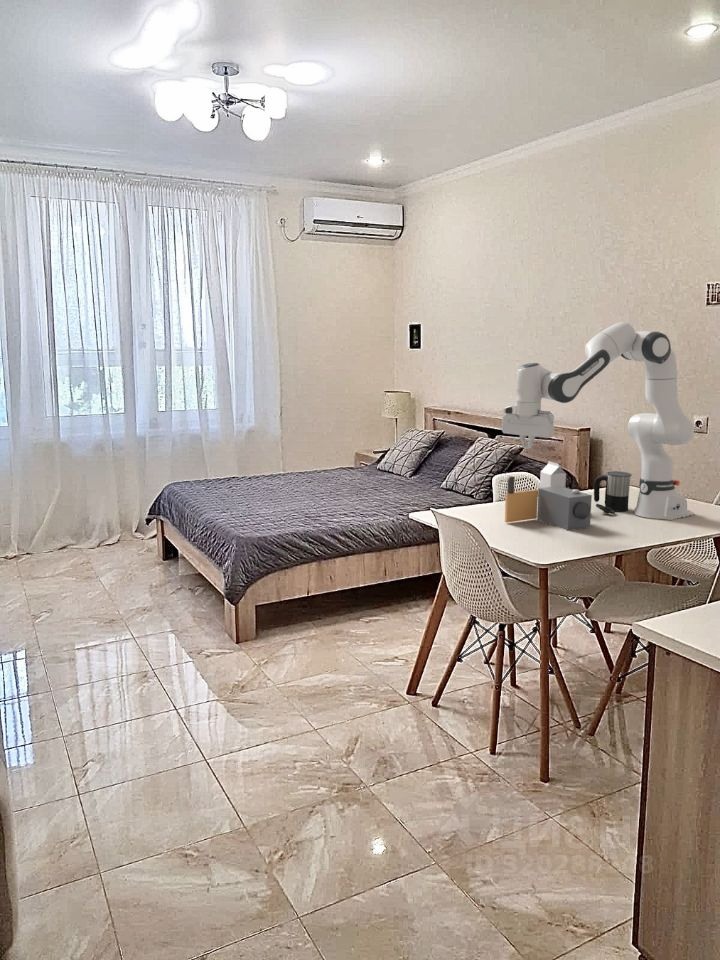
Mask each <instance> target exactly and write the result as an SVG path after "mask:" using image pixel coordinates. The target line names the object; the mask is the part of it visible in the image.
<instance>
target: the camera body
mask: <svg viewBox="0 0 720 960" xmlns="http://www.w3.org/2000/svg"><path fill="white" fill-rule="evenodd" d="M537 490H538V500H537V518H536V519H537V520H538V519H539V520H538V521H541V522H543V521H544V523H546V522H547V523H546V524H549V523H550V524H549V525H552V526H554V525H555V527H557V526H558V527H557V528H559V529H562V528H563V530H565V529H566V530H565V531H573V530H572V529H575V530H581V529H580V528H582V529H589V528H588V527H590V528H591V516H592V497H593V495H592V494H589V493H585V492H582V491H580V489H578V488H577V489H576V488H575V489H574V488H573V489H571V488H569V487H566V486H565V487H562V486H556V487H546V488H540V487H538V489H537Z"/></svg>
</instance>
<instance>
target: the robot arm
mask: <svg viewBox="0 0 720 960" xmlns="http://www.w3.org/2000/svg"><path fill="white" fill-rule="evenodd" d="M584 356H585V357H586V360H585V361H582V363H581V364H579V365H578V366H577V367H576V368H575V369H574V370H571V371H570V372H565V373H560V372H554V371H552V370H549V369H547V368H545V367H544V366H542V364H540V363H538V362H530V363H525V364H522V365H521V366H519V368H517V371H516V379H515V391H516V397H515V404H513V405H509V406H506V407H504V408H503V410H502V411H503V416H502V419H501V431H502V433H503V434H507V435H517V436H519V439H520V442H521V444H522V445H521V448H522V449H528V450H529V449H532V448H533V443H534V441H535V439H536V438H544V439H549V438H552V437H554V436H555V423H554V420H555V416H554V414H553V413H552V412H551V411H549V410H547V411H546V410H542V409H541V408H542V399H547V400H551V401H556V402H558V403H561V404H566V403H570V402H572V401H573V400H574V399H576V398H577V396H579V393H580V391H581V390H582V389H583V387H584V386H585V385H587V384H588V383H589V382H590V381H591V380H592V379H594V378H595V377H596V376H597V375H599V374H600V373H601V372H602V371H603V370H604V369H605V368H606V367H607V366H608V365H610V364H611V363H612V362H613V361H614V360H616V359H617V358H619V357H622V358H623V359H625V360H628V361H635V362H639V363H640V362H644V364H645V377H644V378H645V382H644V383H645V385H644V386H645V387H644V389H645V390H644V397H645V399H646V401H647V402H648V403H649V404H650V405H651V406H652V407H653V408H654V410H655V413H652V412H651V413H650V412H643V413H642V412H641V413H636V414H633V415H632V416H631V417H630V419H629V421H628V422H627V432H628V434H629V436H630V437H631V438H632V439H633V440H634V441H635V443H636V445H637V447H638V449H639V453H640V457H641V473H640V474H641V475H640V478H639V485H638V486H639V491H638V496H637V501H636V505H635V508H634V512H633V514H634V515H636V516H639V517H642V518H647V519H655V520H656V519H657V520H658V519H659V520H667V521H670V520H671V521H672V520H673V519H674V520H677V518H678V519H682V518H681V517H683V518H686V516H687V517H690V516H689V515H691V516H694V515H693V514H694V512H693V511H692V510H690V509H688V500H687V498H686V497H685V496H684V495H682V494H681V493H680V491H678V490H676V487H675V486H680V480H678V479H674V480H673V470H674V469H673V467H674V460H673V457H672V456H671V455H669V454H668V453H667V452H666V451H665V449H664V446H663V445H669V446H682V445H686V444H688V443H689V442H690V441H691V440H692V439H693V437H694V433H695V428H694V424H693V422H692V421H691V420H690V419H689V418H688V416H686V415H685V413H684V412H683V410H682V408H681V406H680V402H679V398H678V364H677V358H676V353H675V351H674V350H673V349H672V348H671V341H670V339H669V337H668V336H667V334H665V333H662V332H660V331H653V330H652V331H651V330H637V331H636V330H635V328H634V327H633V325H631V324H630V323H629V322H626V321H619V322H616V323H614V324H612V325H610V326H607V327H606V328H605V329H603V330H601V331H600V332H599V333H597V334H596V335H594V336H593V337H591V338H590V339H589V341H588V342H587V343H586V344H585V348H584ZM527 437H528V442H527V440H526V439H527ZM674 520H673V521H674Z"/></svg>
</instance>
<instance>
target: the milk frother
mask: <svg viewBox="0 0 720 960" xmlns="http://www.w3.org/2000/svg"><path fill="white" fill-rule="evenodd" d="M631 476H632V473H629V472H627V471H617V470H615V471H614V470H613V471H607V472H606V474H604V475H603V474H602V475H601V474H600V475H599V476H597V477H596V478H595V480H594V481H593V501H594V502H596V504H595V507H596V508H598V509H599V510H601V511H602V512H603V513H606V514H607V515H609V514H612V515H614V514H615V513H616V512H619V513H620V512H621V513H622V512H627V511H629V498H630V497H629V494H630V483H631ZM602 481H605V492H604V495H605V496H604V505H603V504H599V503H598V502H599V501H600V483H601V482H602Z"/></svg>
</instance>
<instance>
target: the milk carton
mask: <svg viewBox="0 0 720 960" xmlns="http://www.w3.org/2000/svg"><path fill="white" fill-rule="evenodd" d="M566 473H567V472H565V471H564V470H563V469H562V467H561V466H560V463H557V462H553V461H549V460H548V461H547V465H545V466H544V467H543V469H542V470H540V479H539V482H540V483H539V488H546V487H556V486H562V487H565V488H566V483H567V482H566V481H567V479H566V478H567V474H566Z"/></svg>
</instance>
